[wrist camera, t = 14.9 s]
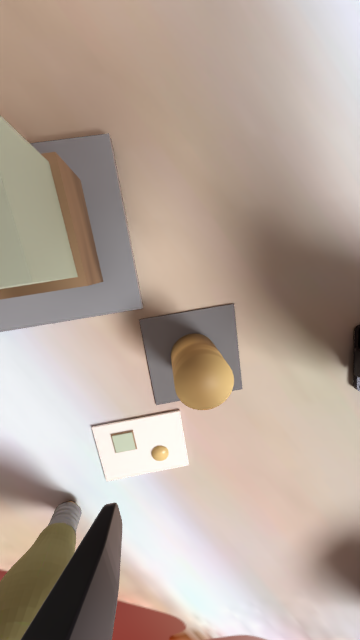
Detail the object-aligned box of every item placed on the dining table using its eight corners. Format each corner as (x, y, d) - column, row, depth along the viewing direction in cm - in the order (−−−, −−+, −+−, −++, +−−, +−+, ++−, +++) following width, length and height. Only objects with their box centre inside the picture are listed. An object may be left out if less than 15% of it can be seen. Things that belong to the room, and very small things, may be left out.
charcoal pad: (233, 303, 20) (233, 304, 20) (241, 388, 22) (242, 389, 21) (139, 319, 19) (139, 319, 19) (156, 404, 21) (156, 405, 21)
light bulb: (40, 480, 22) (-55, 650, 12) (101, 481, 22) (57, 644, 13) (40, 526, 23) (-47, 716, 13) (98, 527, 24) (56, 708, 14)
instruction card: (179, 410, 22) (180, 412, 21) (188, 463, 23) (189, 466, 22) (92, 426, 21) (91, 429, 21) (107, 479, 22) (106, 483, 22)
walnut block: (80, 179, 16) (55, 151, 12) (103, 281, 18) (87, 285, 14) (-25, 194, 16) (-86, 169, 12) (8, 296, 17) (-35, 305, 13)
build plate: (111, 139, 16) (108, 133, 16) (143, 306, 19) (142, 308, 18) (-67, 162, 16) (-79, 157, 15) (-7, 331, 19) (-15, 334, 18)
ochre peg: (213, 329, 20) (230, 349, 15) (218, 372, 21) (236, 403, 16) (167, 337, 20) (169, 360, 15) (174, 380, 21) (179, 415, 16)
